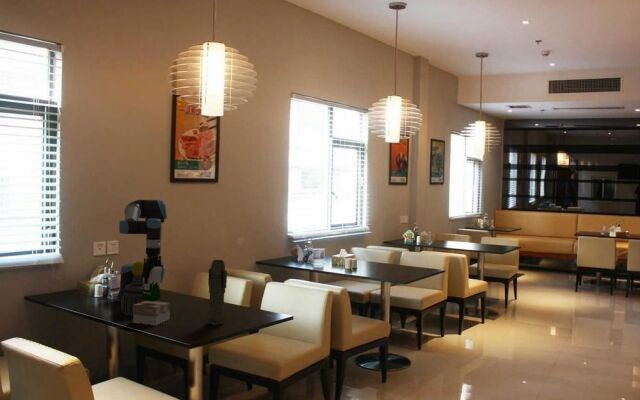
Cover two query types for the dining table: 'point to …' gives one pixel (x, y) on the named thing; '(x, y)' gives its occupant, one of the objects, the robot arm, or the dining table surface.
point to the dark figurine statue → (217, 291)
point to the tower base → (151, 319)
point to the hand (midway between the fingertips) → (151, 288)
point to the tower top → (151, 308)
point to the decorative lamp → (133, 290)
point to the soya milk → (153, 284)
